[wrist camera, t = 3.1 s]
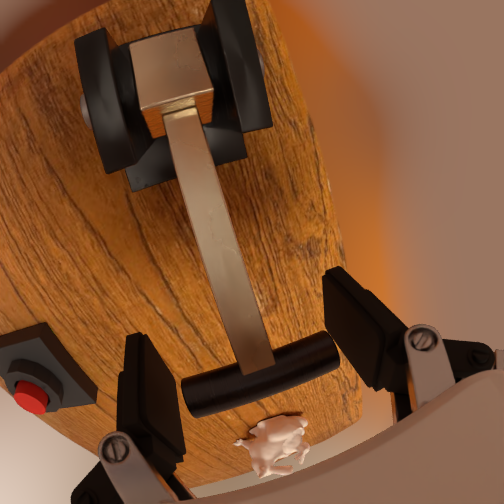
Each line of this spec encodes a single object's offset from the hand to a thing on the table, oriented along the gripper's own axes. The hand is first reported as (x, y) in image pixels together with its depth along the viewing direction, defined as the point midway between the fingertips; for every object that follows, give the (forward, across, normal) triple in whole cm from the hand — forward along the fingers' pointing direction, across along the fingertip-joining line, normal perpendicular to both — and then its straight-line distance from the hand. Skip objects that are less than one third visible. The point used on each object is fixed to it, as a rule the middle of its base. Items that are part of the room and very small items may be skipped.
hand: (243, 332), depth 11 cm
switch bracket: (+12, 0, -9) cm, 15 cm away
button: (+8, +22, +9) cm, 25 cm away
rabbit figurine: (+12, +1, +32) cm, 34 cm away
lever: (+1, 0, -4) cm, 4 cm away
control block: (+12, +22, +9) cm, 27 cm away
